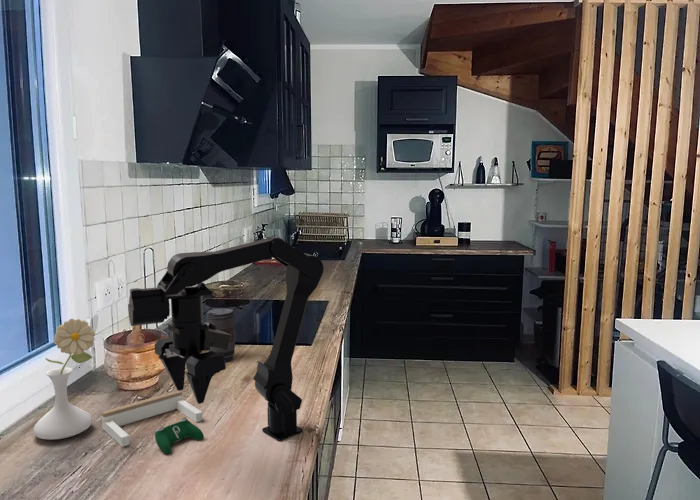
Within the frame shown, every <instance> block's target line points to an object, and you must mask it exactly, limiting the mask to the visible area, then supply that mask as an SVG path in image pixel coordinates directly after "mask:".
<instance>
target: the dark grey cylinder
mask: <svg viewBox="0 0 700 500" xmlns="http://www.w3.org/2000/svg"><path fill="white" fill-rule="evenodd" d="M206 322H208V323H212V324H215V325H216V330H220V331H223V332H226V333H228V334H231V338H230V342H229V345H228V349H227V350H223V349H222V348H216V347H210V350H208V352H210V351H213V352H215V353H217V354H220V355H221V356H223V357H224V358H225V361H226V362H229V361H232V360H233V359H234V354H235V349H236V344H235V343H236V342H235V341H236V340H235V338H236V332H235V314H234V310H233V309H231V308H224V307H223V308H215V309H211V310H208V311H207V313H206Z"/></svg>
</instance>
